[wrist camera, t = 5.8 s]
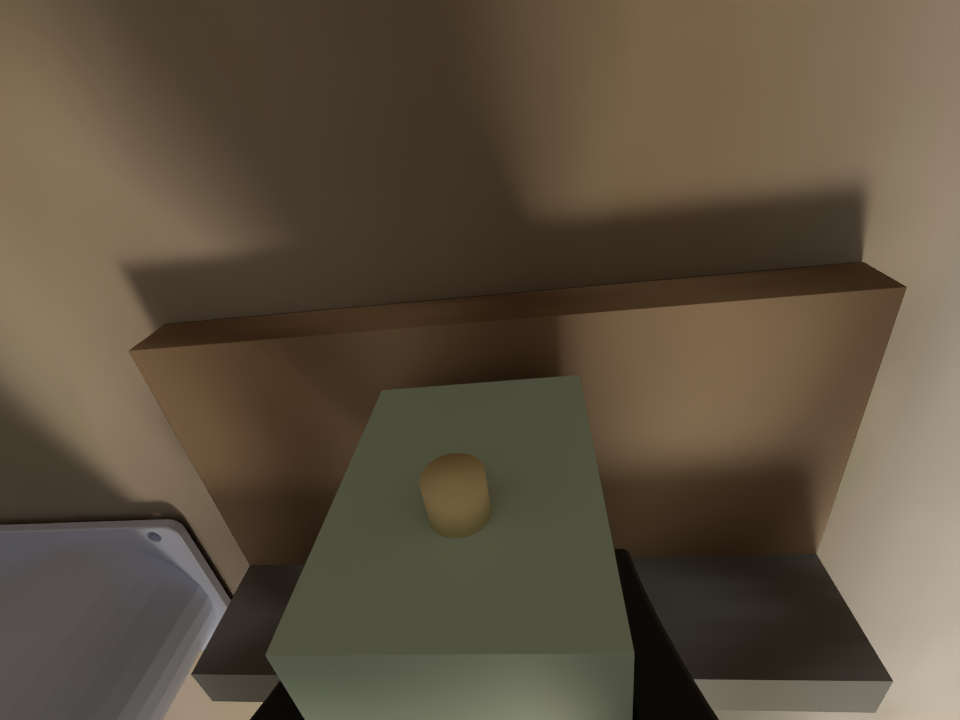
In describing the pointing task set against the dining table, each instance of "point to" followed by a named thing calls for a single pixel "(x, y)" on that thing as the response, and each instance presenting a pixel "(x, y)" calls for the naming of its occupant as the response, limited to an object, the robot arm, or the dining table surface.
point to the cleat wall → (616, 439)
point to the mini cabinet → (464, 567)
